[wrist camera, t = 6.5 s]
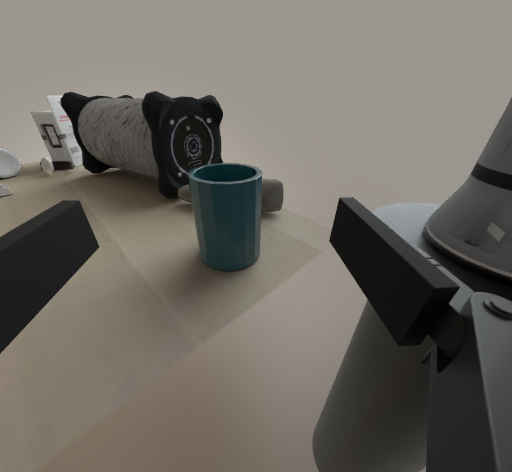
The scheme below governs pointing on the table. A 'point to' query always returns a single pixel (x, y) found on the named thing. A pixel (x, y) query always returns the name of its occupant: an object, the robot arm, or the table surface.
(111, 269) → the table surface
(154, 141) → the speaker
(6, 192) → the mousetrap
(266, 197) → the stone tool
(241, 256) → the drinking cup
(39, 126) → the ink box
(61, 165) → the watch
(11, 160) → the pill bottle
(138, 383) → the table surface
